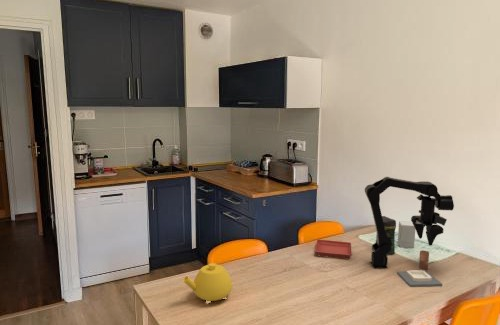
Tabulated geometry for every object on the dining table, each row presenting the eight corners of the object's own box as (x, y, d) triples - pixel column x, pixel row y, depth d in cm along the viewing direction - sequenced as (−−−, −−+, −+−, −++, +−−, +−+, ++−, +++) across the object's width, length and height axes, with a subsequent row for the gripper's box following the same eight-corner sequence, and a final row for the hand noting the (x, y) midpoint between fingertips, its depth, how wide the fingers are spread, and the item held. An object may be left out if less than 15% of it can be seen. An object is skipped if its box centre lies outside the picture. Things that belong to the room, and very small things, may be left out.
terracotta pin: (421, 270, 178) (422, 253, 177) (417, 266, 182) (418, 250, 181) (429, 269, 178) (430, 253, 177) (425, 266, 182) (426, 250, 181)
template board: (410, 286, 161) (410, 281, 161) (396, 273, 174) (397, 268, 174) (442, 286, 162) (442, 280, 162) (426, 272, 175) (427, 267, 175)
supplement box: (414, 248, 205) (415, 225, 203) (399, 247, 206) (401, 225, 204) (411, 243, 212) (412, 221, 210) (397, 242, 213) (398, 220, 211)
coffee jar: (397, 253, 197) (399, 219, 194) (385, 256, 194) (387, 220, 191) (384, 247, 206) (386, 214, 203) (372, 249, 203) (374, 215, 200)
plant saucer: (350, 247, 206) (351, 242, 206) (351, 261, 189) (352, 254, 189) (316, 245, 211) (317, 239, 210) (314, 257, 193) (315, 251, 193)
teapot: (190, 313, 141) (189, 278, 139) (177, 295, 154) (176, 263, 152) (238, 300, 150) (238, 267, 148) (222, 284, 164) (222, 253, 162)
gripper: (456, 215, 167) (453, 249, 169) (434, 204, 185) (431, 234, 188) (431, 215, 166) (429, 249, 169) (411, 204, 185) (409, 235, 187)
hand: (425, 241), depth 178 cm, fingers open, 9 cm apart
